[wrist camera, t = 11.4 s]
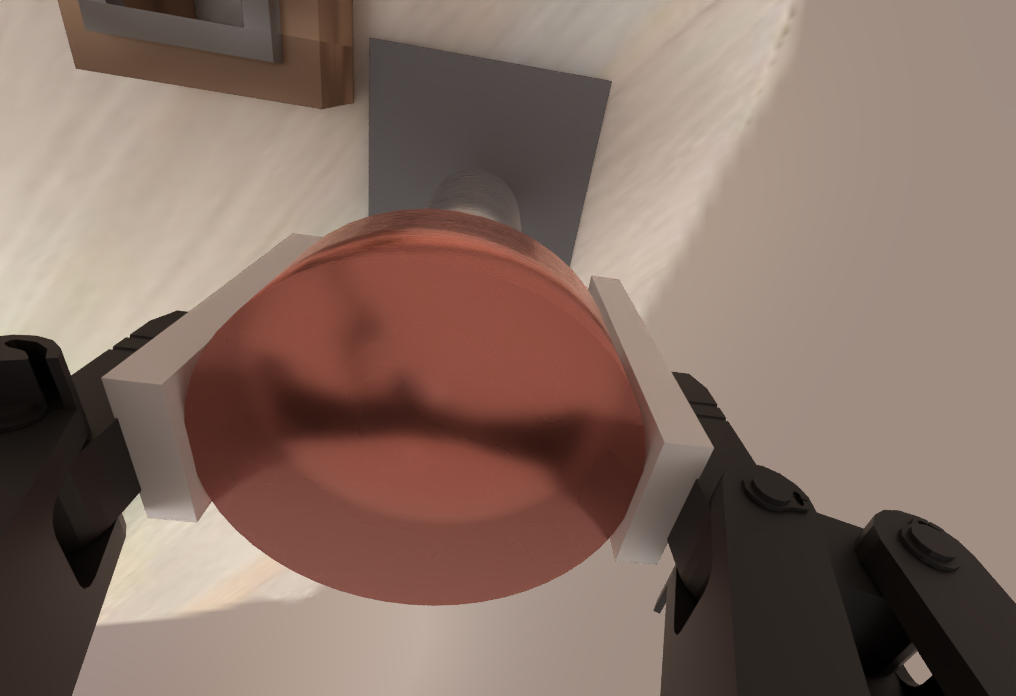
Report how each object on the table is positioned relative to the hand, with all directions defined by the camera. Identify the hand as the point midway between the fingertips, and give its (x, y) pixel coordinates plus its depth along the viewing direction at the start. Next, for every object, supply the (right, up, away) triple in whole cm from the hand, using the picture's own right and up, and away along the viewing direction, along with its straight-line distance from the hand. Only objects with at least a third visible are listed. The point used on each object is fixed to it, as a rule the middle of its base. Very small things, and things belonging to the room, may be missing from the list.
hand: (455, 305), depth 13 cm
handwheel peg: (0, +5, +8) cm, 9 cm away
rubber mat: (0, +8, +14) cm, 16 cm away
